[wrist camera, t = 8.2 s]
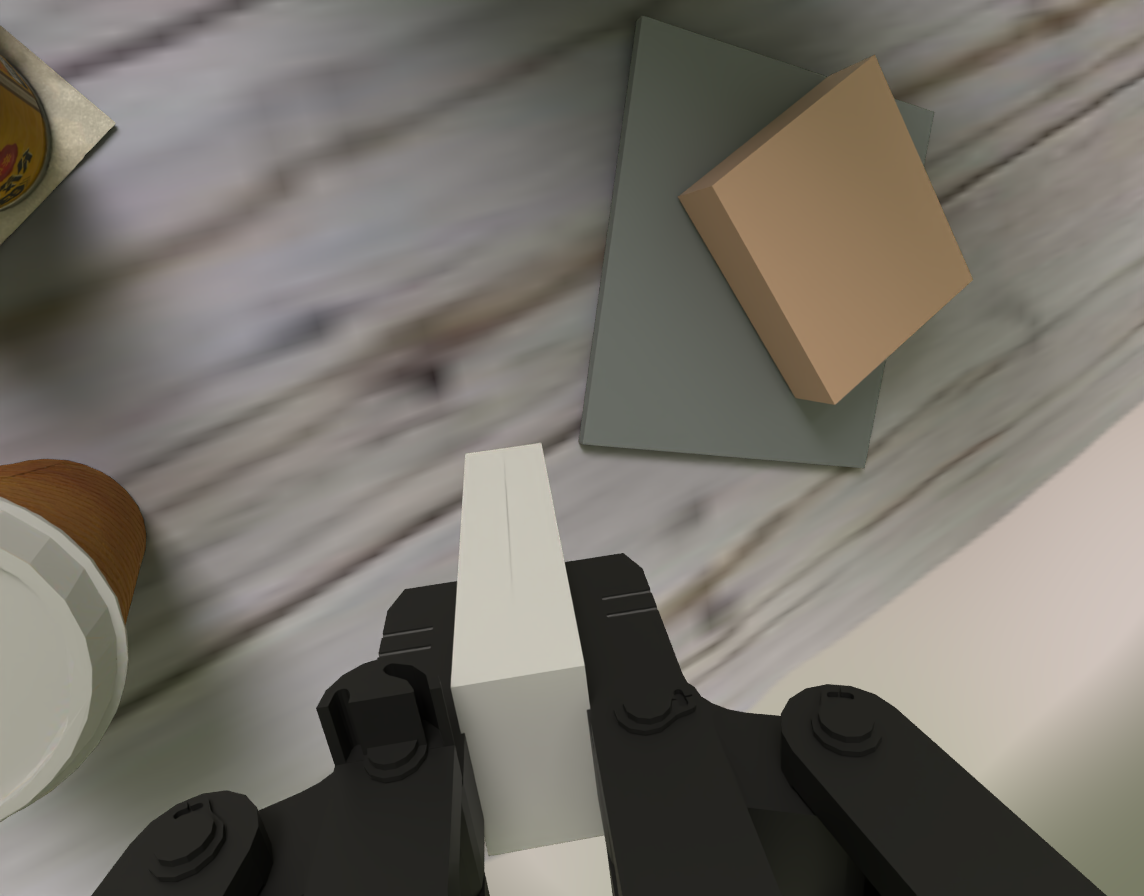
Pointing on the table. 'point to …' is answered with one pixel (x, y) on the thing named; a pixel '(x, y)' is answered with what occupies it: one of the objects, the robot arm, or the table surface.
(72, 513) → the disposable coffee cup
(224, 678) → the table surface
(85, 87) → the table surface
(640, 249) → the mat
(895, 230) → the tile
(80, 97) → the condiment
